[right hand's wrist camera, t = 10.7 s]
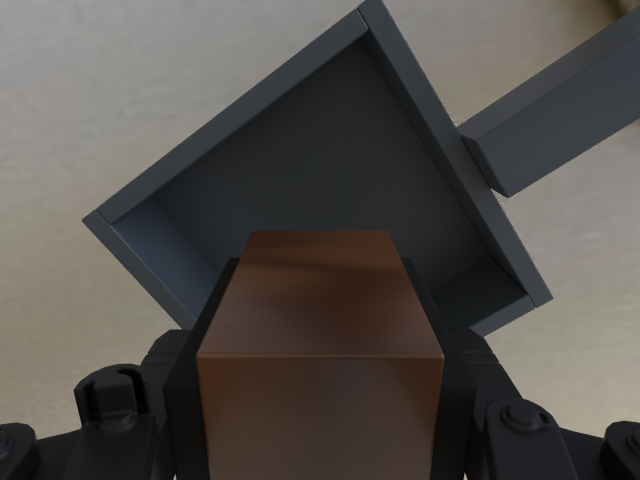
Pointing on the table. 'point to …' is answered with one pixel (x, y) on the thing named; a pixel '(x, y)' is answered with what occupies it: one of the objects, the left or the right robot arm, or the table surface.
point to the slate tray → (372, 168)
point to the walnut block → (320, 363)
